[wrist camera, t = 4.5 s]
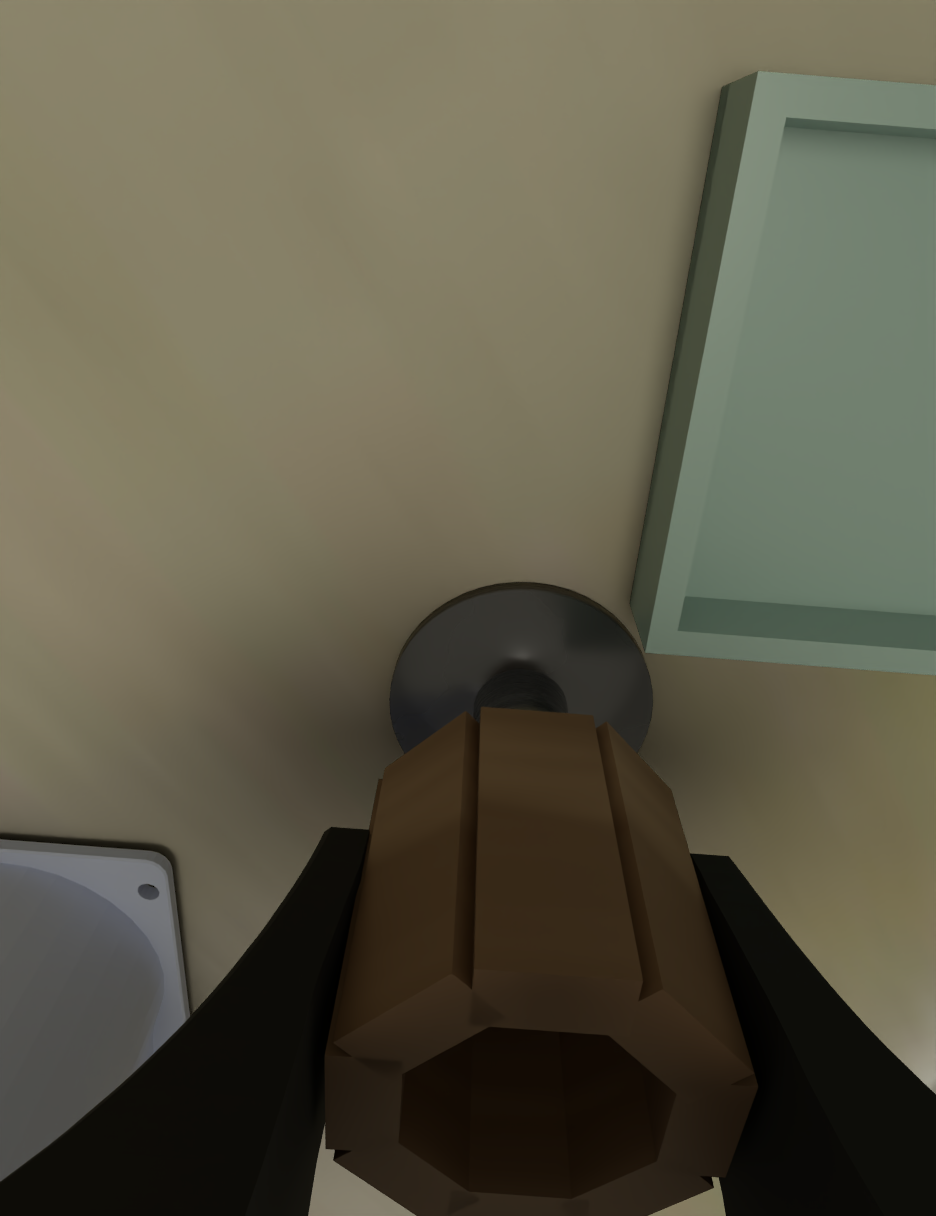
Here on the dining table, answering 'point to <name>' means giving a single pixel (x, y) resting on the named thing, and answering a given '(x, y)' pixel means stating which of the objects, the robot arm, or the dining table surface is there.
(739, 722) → the dining table surface
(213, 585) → the dining table surface
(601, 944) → the brown hollow octagonal cylinder
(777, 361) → the tray
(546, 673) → the dark grey round stand
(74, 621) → the dining table surface
